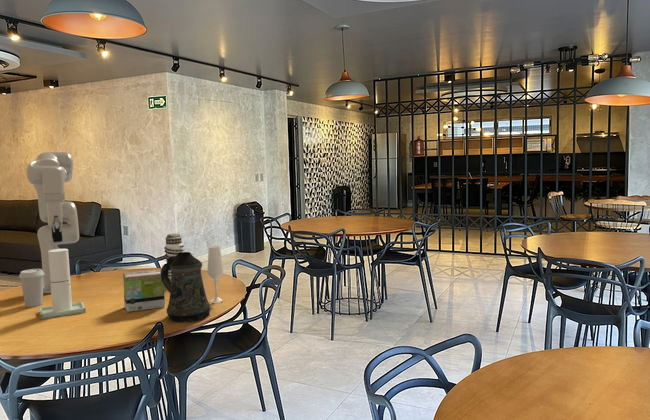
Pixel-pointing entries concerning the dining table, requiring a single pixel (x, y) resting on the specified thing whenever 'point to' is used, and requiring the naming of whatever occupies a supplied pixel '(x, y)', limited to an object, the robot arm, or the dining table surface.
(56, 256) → the cylindrical container
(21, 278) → the coffee cup
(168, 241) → the decorative candle
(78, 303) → the tray
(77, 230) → the robot arm
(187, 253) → the beer stein
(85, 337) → the dining table surface
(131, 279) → the tea box
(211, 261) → the champagne flute
